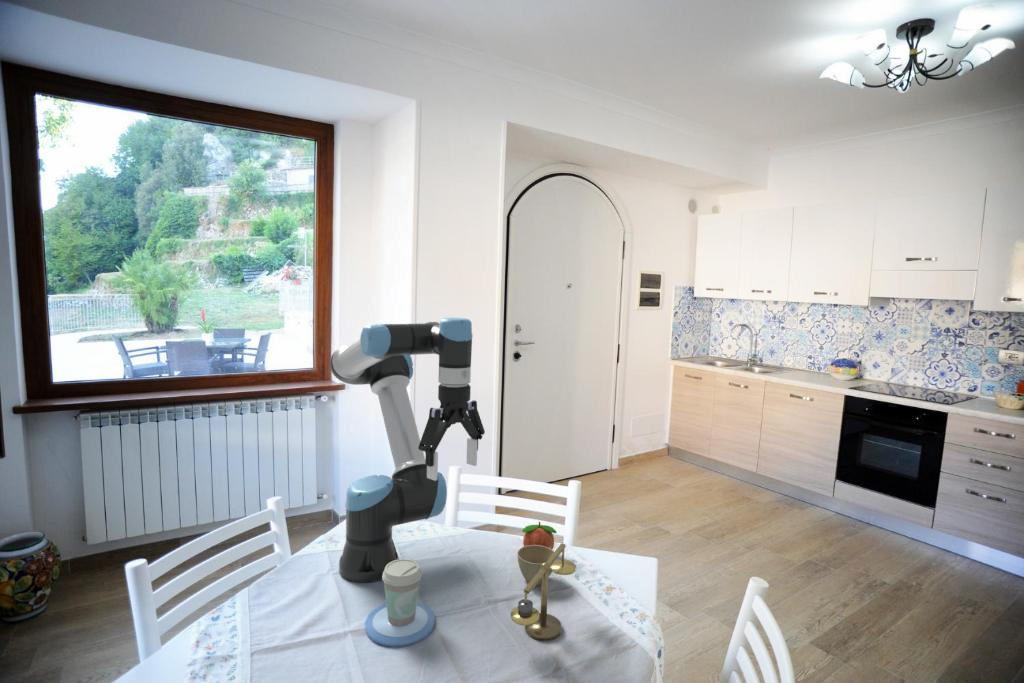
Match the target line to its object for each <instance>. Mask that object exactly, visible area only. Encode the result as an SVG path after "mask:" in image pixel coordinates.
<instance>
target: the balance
mask: <svg viewBox="0 0 1024 683" xmlns="http://www.w3.org/2000/svg"><path fill="white" fill-rule="evenodd" d="M566 547H567V546H566V544H565V543H564V542H562V543H560V544H559V545H558V547H557V548H556V549H555V550H554V553H553V554H552V555H551V557H550V558H549V559H548V560H547V562H545V563H543V564H542V565H541V569H540V570H539V571H538V573H537V574H536V575H535V576H534V578H533V579H532V580H531V581H530V583H528V584H527V585H526V586H525V588H524V589H523V593H524V599H520V600H519V601H518V602H517V603H518V605H517V606H515V607H513V608H512V610H511V611H510V619H511V621H512V622H514V623H515V624H516V625H519V626H524V631H525V633H526V634H527V635H528V636H529V637H530V638H532V639H534V640H537V641H540V642H547V641H548V642H549V641H553V640H556V639H557V638H559V636H560V635H561V633H562V623H561V621H560V620H559V619H558V617H556V616H555V615H552V614H549V613H548V596H549V594H548V593H549V577H550V576H549V570H551V571H552V572H551V573H554V574H557V575H560V576H568V575H569V576H570V575H572V574H574V573H575V572H576V567H577V566H576V564H575V563H574V562H573V561H571V560H569V559H565V550H566ZM560 555H561V558H559V557H560ZM541 578H542V585H541V590H540V591H541V592H540V593H541V595H540V612H539V610H537V608H535V607H533V606H534V603H533V601H532V600H530V599H528V595H529V594H530V593H531V592H532V590H533V589H534V588H535V587H536V586H537V585H536V584H537V583H538V581H539V580H540V579H541Z"/></svg>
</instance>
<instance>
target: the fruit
mask: <svg viewBox="0 0 1024 683" xmlns="http://www.w3.org/2000/svg"><path fill="white" fill-rule="evenodd" d="M521 532H522V533H524V535H523V539H522V542H523V544H522V545H523V547H525V546H529V545H540V546H545V547H548V548H550V549H552V550H553V551H554V547H555V538H554V534H557V530H556V529H555V528H553V527H552V526H549V525H545V524H541V521H538V524H530V525H527V526H525V527H524V528H523V529H522V530H521Z"/></svg>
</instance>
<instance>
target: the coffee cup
mask: <svg viewBox="0 0 1024 683" xmlns="http://www.w3.org/2000/svg"><path fill="white" fill-rule="evenodd" d="M422 575H423V573H422V569H421V567H420V564H419V563H418V562H417V561H415V560H413V559H408V558H400V559H399V558H398V560H394V561H392V562H390V563H388V564H387V565H386V567H385V570H384V572H383V575H382V579H381V580H382V581H383V586H384V593H385V594H384V596H385V604H386V605H387V614H388V621H389V623H390V624H392V625H394V626H406V625H408V624H410V623H412V622H413V621H414V619H415V613H416V605H417V602H418V595H419V590H420V583H421V579H422Z"/></svg>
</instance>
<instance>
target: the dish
mask: <svg viewBox="0 0 1024 683" xmlns="http://www.w3.org/2000/svg"><path fill="white" fill-rule="evenodd" d="M365 619H366V620H365V623H364V624H365V625H364V627H365V628H364V630H365V634H366V636H367V638H369V639H370V640H371V642H374V643H376V644H377V645H380V646H384V647H392V648H394V647H395V648H396V647H397V648H398V647H406V646H409V645H413V644H417V643H419V642H420V641H422V640H424V639H425V638H427V637H428V636H429V635H430V634H431V633H432V632H433V629H434V626H435V615H434V612H433V611H432V608H430V607H429V606H427V605H426V604H424V603H423V602H422V603H421V602H418V601H417V605H416V613H415V619H414V621H413V622H412V623H410V624H408V625H406V626H394V625H392V624H390V623H389V621H388V614H387V605H386V603H384V604H382V605H380V606H378V607H375V609H373V610H372V611H370V613H369V614H368V616H367V617H366V618H365Z"/></svg>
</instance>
